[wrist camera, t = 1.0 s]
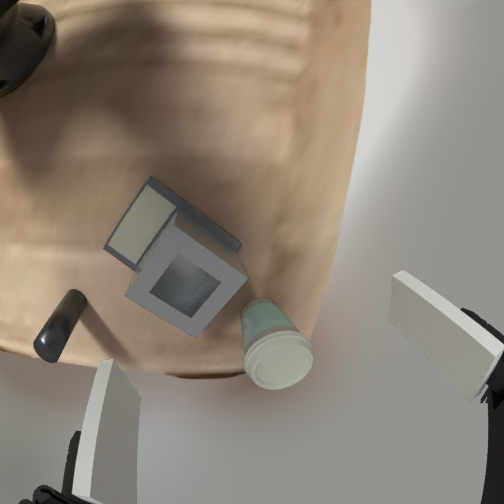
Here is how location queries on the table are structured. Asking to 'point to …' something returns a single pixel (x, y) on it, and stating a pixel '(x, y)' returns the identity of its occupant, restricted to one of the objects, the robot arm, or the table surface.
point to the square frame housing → (176, 258)
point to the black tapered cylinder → (60, 326)
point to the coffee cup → (273, 346)
